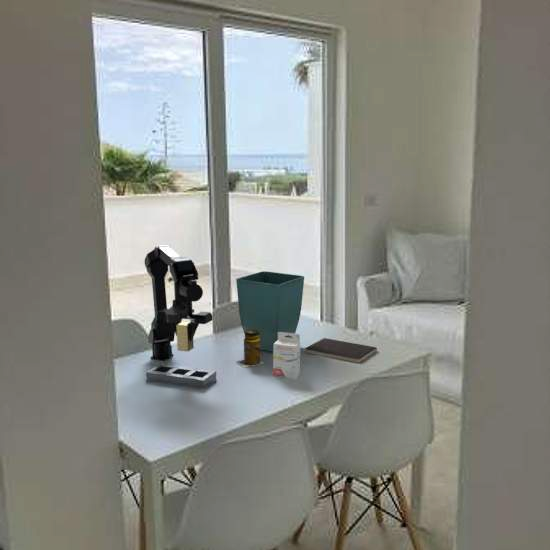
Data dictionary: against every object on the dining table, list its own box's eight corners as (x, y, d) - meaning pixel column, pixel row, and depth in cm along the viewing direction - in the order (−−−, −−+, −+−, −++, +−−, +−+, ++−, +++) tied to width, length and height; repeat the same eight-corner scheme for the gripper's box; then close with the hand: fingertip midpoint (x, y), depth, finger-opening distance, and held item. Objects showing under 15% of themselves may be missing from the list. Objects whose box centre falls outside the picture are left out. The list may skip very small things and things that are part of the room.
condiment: (265, 363, 217) (264, 332, 215) (245, 368, 212) (244, 336, 210) (254, 358, 223) (254, 327, 221) (235, 362, 218) (234, 331, 216)
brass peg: (177, 350, 200) (176, 324, 198) (183, 346, 204) (182, 321, 202) (188, 351, 199) (186, 325, 197) (193, 348, 202) (192, 322, 201)
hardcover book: (358, 364, 217) (359, 358, 216) (304, 353, 229) (304, 348, 229) (376, 352, 230) (376, 346, 229) (324, 342, 242) (324, 337, 242)
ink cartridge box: (272, 376, 204) (272, 335, 201) (277, 371, 209) (277, 331, 206) (296, 378, 201) (296, 337, 198) (300, 373, 206) (300, 333, 203)
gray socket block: (146, 380, 201) (146, 372, 200) (160, 371, 209) (160, 363, 209) (203, 389, 193) (203, 380, 192) (216, 379, 201) (216, 371, 201)
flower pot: (305, 343, 240) (305, 275, 234) (279, 357, 223) (278, 284, 218) (264, 336, 250) (263, 270, 245) (236, 348, 234) (234, 279, 228)
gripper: (146, 299, 194) (148, 345, 196) (196, 303, 187) (198, 350, 190) (163, 292, 204) (165, 335, 207) (212, 295, 198) (213, 340, 200)
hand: (185, 340), depth 201 cm, fingers closed on brass peg, 4 cm apart
